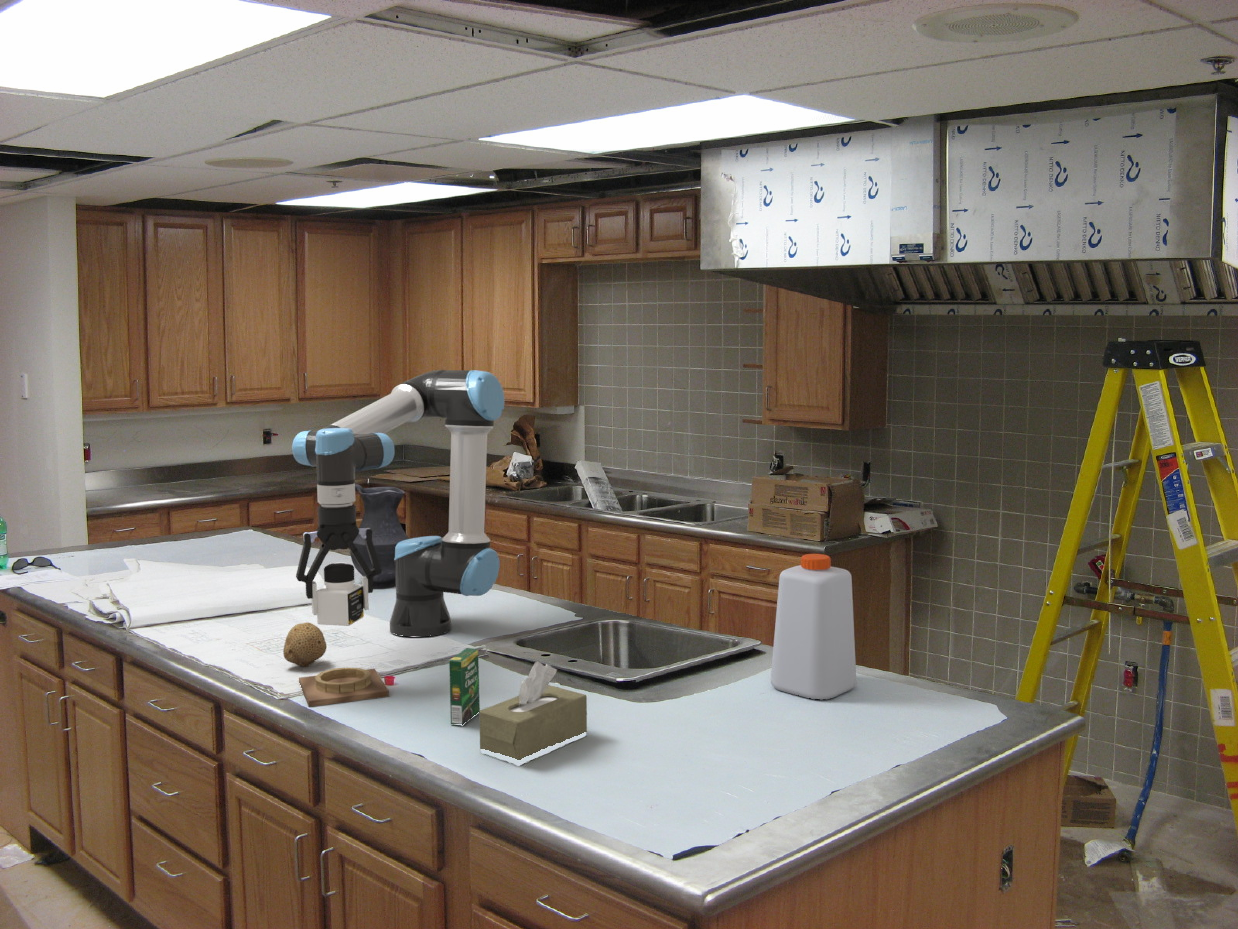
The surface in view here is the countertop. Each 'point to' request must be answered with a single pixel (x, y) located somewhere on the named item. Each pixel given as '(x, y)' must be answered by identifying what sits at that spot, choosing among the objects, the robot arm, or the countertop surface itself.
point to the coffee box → (464, 686)
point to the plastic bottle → (814, 630)
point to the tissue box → (533, 717)
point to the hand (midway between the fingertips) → (340, 611)
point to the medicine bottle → (339, 596)
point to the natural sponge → (304, 644)
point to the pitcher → (380, 531)
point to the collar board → (342, 686)
